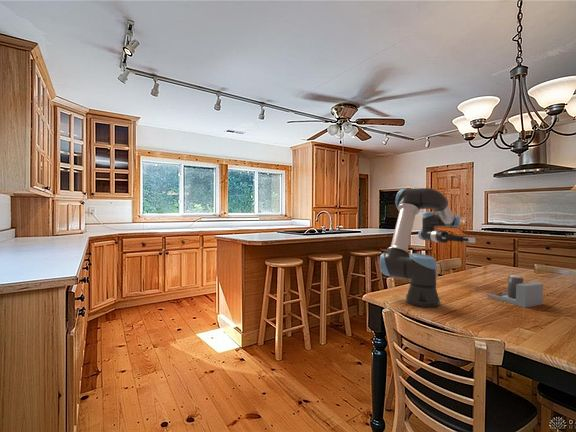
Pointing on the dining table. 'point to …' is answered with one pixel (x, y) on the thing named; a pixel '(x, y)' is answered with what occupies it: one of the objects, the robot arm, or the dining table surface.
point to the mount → (524, 295)
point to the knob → (513, 286)
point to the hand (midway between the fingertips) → (474, 240)
